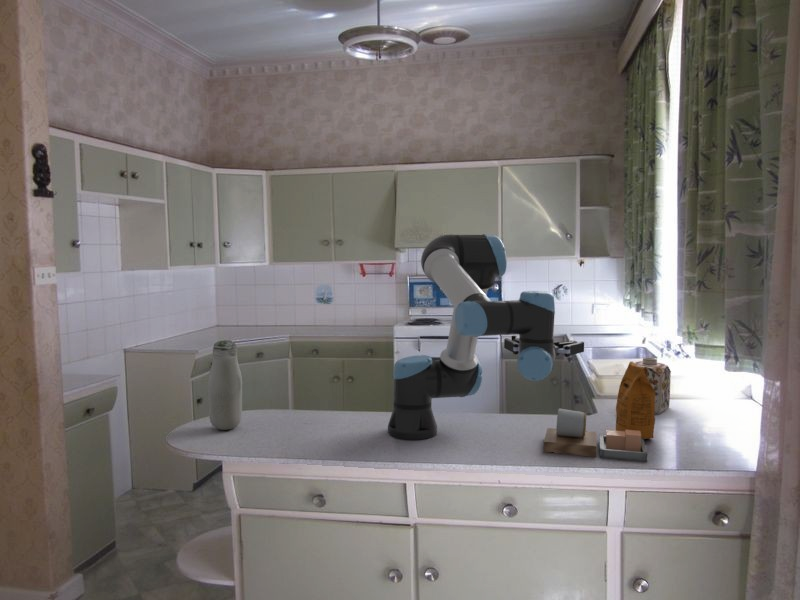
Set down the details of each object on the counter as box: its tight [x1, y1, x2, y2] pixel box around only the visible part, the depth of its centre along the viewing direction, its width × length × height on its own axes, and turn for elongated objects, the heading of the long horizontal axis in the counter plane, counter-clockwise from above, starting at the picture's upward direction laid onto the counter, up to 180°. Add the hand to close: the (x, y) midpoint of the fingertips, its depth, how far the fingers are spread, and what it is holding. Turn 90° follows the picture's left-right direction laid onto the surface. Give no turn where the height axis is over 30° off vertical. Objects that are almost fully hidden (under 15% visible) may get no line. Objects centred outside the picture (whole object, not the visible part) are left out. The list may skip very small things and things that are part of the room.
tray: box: [599, 434, 648, 462], centre depth 179 cm, size 12×14×2 cm
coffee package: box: [615, 361, 656, 440], centre depth 193 cm, size 10×12×22 cm
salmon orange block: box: [625, 430, 641, 452], centre depth 178 cm, size 5×5×4 cm
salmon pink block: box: [605, 429, 625, 450], centre depth 181 cm, size 5×5×4 cm
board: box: [543, 427, 597, 458], centre depth 183 cm, size 14×14×3 cm
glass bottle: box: [207, 339, 243, 431], centre depth 199 cm, size 10×10×28 cm
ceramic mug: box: [555, 407, 587, 437], centre depth 184 cm, size 11×8×8 cm
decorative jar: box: [633, 357, 672, 415], centre depth 225 cm, size 12×12×18 cm
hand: (545, 340), depth 173 cm, fingers open, 13 cm apart
